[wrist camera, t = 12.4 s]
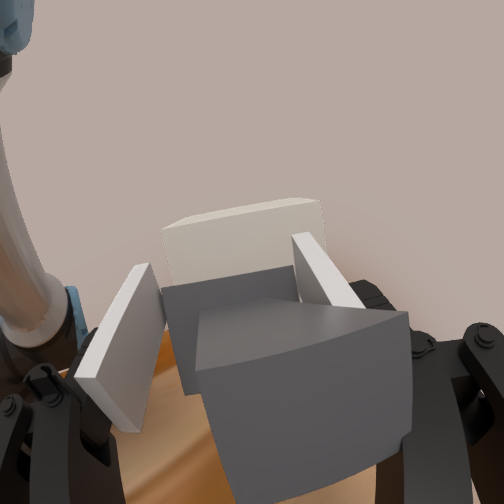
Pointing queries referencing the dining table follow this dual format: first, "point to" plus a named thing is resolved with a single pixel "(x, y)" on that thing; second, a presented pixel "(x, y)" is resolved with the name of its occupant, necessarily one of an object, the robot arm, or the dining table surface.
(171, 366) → the dining table surface
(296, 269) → the robot arm
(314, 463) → the plug
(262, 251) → the pillar
